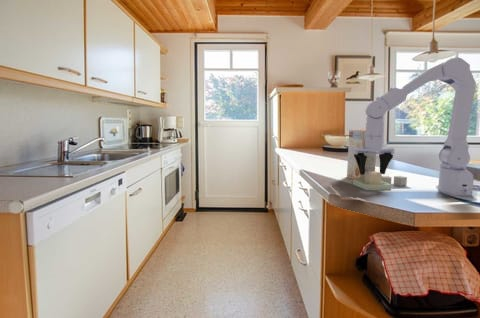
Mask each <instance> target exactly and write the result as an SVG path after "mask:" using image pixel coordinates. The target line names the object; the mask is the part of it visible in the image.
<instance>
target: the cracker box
mask: <svg viewBox="0 0 480 318" xmlns="http://www.w3.org/2000/svg"><path fill="white" fill-rule="evenodd" d="M348 132H349V133H348V147H347V148H348V152H347V168H346V169H347V170H346V178H348V179H349V180H352V181H353V179H365V174H364V175H362V174H360V172H359V167H358V164H357V161H356V159H355V157H354V154H353V148H365V135H366V128H364V129H363V128H362V129H357V128H354V129H349V131H348ZM370 152H374V151H370ZM364 155H365V156H367V159H366V163H365V172H366V171H376V159H377V154H364Z"/></svg>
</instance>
